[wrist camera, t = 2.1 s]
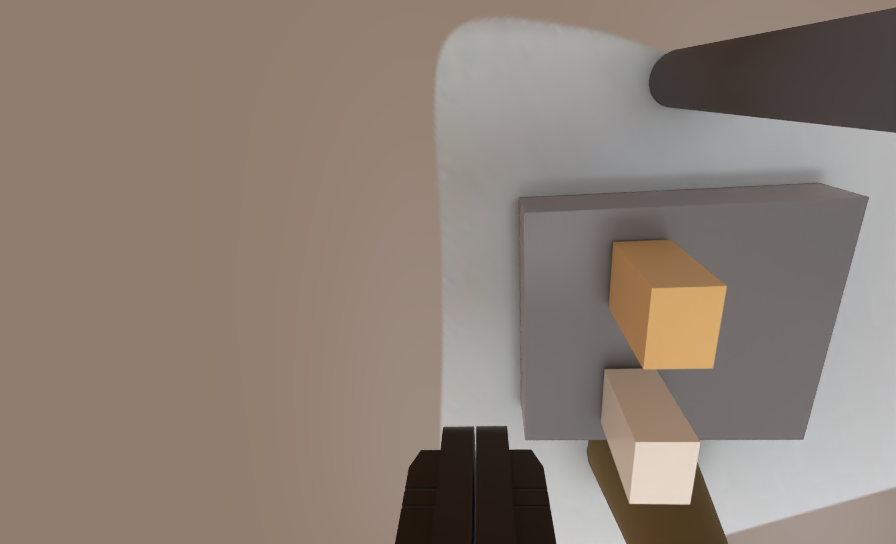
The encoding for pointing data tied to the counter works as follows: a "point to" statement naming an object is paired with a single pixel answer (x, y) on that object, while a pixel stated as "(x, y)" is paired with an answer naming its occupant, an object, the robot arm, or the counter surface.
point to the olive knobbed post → (656, 508)
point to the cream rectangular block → (648, 437)
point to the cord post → (791, 74)
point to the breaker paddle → (665, 304)
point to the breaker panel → (744, 312)
